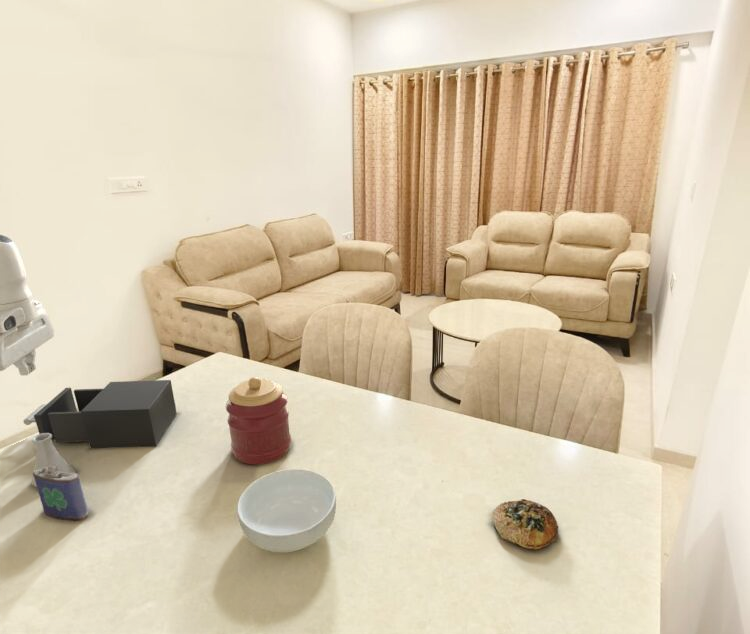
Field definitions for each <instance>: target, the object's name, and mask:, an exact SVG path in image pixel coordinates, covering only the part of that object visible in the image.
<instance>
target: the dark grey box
mask: <svg viewBox="0 0 750 634" xmlns="http://www.w3.org/2000/svg"><path fill="white" fill-rule="evenodd" d="M102 389H103V390H102V391H101V392H100V393H99V394H98V395H97V396H96V397H95V398H94V399H93V400H92V401H91V402H90V403H89V404H88V405H87V406H86V407H85V408H84V409H83V410H82V411H81V414H82V418H83V422H84V425H85V429H86V433H87V437H88V441H87V442H88V445H89V447H90V449H91V450H94V449H96V450H97V449H120V448H146V447H147V448H148V447H149V448H150V447H157V446H158V445H159V443H160V442H161V440H162V438H163V436H164V435H165V434H166V432H167V430H168V428H169V427H170V426H171V424H172V422H173V421H174V419H175V418H176V416H177V415H178V413H177V408H176V407H177V406H176V403H175V397H174V391H173V384H172V380H171V379H158V380H129V381H109V382H108V383H107V384H106V386H105V387H104V388H102Z"/></svg>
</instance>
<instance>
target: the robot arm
mask: <svg viewBox="0 0 750 634" xmlns="http://www.w3.org/2000/svg"><path fill="white" fill-rule="evenodd" d="M54 336H55V330H54V327H53V323H52V321H51V318H50V316H49V313H48V312H47V310H46V309H44V307H43V304H42V303H40V302H39V301H38V300H34V297H33V294H32V292H31V290H30V289H29V287H28V284H27V272H26V269H25V265H24V261H23V259H22V257H21V255H20V252H19V250H18V247H17V245H16V244H15V242H14V241H13V240H12V239H11V238H9V237H8V236H5V235H3V234H0V372H3V371H4V370H6V369H8V368H9V367H11V366H12V365H13V366H14V367H15V368H17V369H18V373H19V375H20V376H23V377H24V376H29V375H30V374H31V373H33V372H34V371H35V370H36V369H37V367H36V364H35V362H36V355H37V353H36V350H37V348H39V347H40V346H42V345H43V344H45V343H47V342H48V341H49V340H51V339H53V338H54Z"/></svg>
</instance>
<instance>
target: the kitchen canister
mask: <svg viewBox="0 0 750 634" xmlns="http://www.w3.org/2000/svg"><path fill="white" fill-rule="evenodd" d="M283 391H284V389H283V386H281V384H279V383H278V382H275V381H272V380H270V379H266V378H259V376H252V377H250V378H249V379H248V380H245V381H243V382H240V383H239V384H238V385H236V386H235V387H233V388H232V389H231V390H230V391H229V393H228V400H227V401H226V403H225V410H226V412H227V413H228V417H227V424H228V429H229V434H230V447H231V452H232V453H233V456H234V459H236V460H237V461H239V462H240V463H243V464H247V465H257V466H258V465H265V464H269V463H273V462H275V461H277V460H280V459H281V458H283V457H285V455H286V454H287V453H288V452H289V450H290V448H291V443H292V438H291V437H292V435H291V432H290V423H289V415H290V412H289V409H288V407H286V406H287V404H288V396H287V395H286V393H284V392H283Z"/></svg>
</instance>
